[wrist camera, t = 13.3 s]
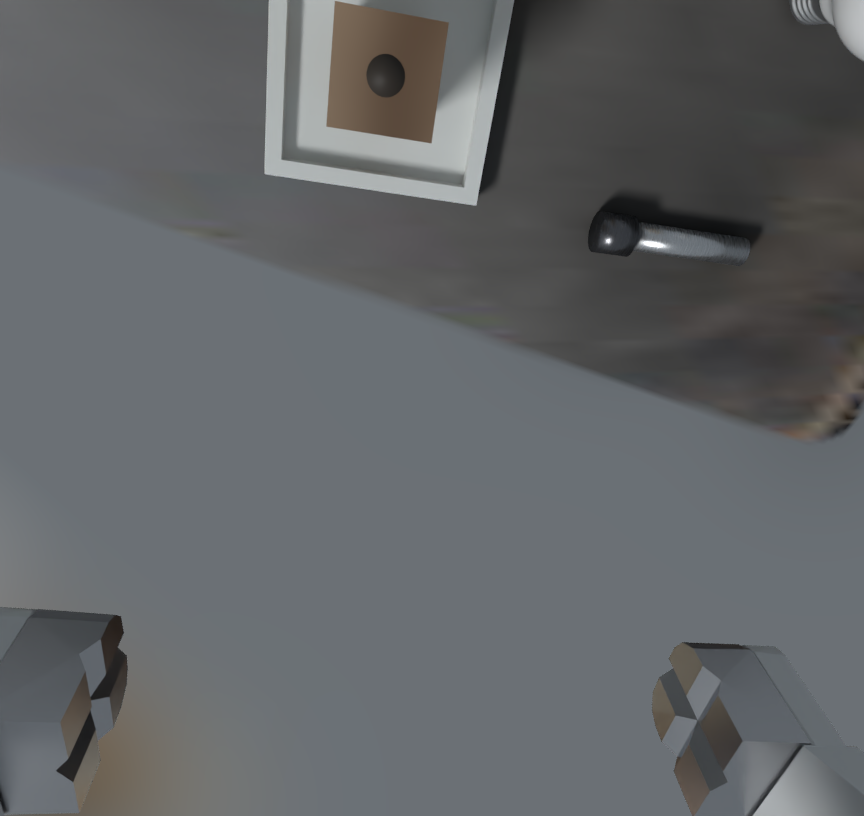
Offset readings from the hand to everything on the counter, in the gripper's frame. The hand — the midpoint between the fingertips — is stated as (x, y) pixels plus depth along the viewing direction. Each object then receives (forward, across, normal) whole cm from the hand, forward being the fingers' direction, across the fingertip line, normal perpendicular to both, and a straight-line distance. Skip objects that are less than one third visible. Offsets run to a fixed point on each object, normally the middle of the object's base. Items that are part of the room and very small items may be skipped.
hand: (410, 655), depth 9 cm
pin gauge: (+29, -16, -1) cm, 33 cm away
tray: (+29, +1, -7) cm, 30 cm away
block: (+28, +1, -7) cm, 29 cm away
